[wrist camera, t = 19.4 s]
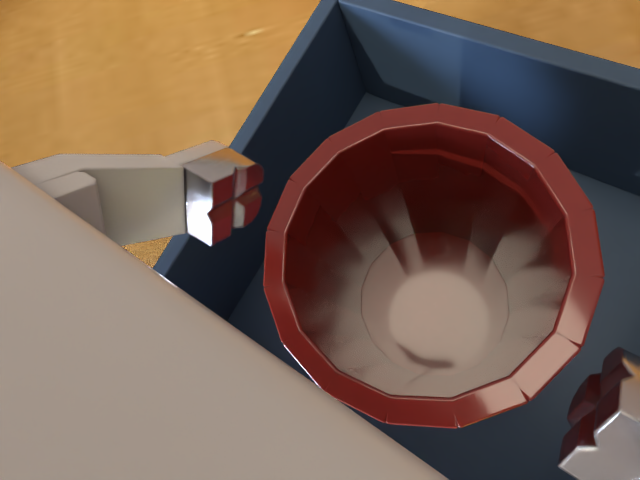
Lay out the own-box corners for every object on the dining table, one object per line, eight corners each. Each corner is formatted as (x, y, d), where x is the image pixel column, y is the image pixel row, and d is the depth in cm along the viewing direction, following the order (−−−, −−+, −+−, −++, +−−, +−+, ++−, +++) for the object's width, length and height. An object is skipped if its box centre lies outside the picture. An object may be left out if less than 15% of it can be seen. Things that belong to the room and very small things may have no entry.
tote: (197, 363, 19) (89, 368, 14) (364, 87, 21) (331, -18, 15) (527, 625, 14) (585, 824, 8) (732, 225, 15) (915, 143, 9)
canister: (322, 304, 18) (209, 260, 9) (426, 196, 18) (406, 52, 9) (438, 426, 15) (424, 512, 7) (558, 301, 15) (692, 238, 7)
